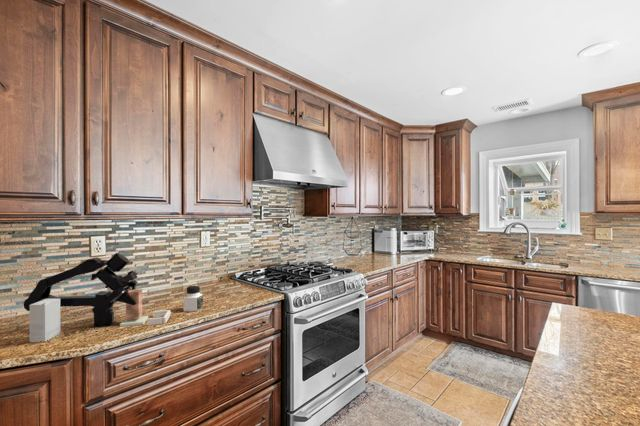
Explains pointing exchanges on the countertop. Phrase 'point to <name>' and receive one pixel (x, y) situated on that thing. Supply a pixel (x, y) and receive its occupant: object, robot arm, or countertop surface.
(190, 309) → the medicine bottle
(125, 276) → the robot arm
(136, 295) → the pink rectangular block
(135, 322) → the lid board
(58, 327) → the skincare box
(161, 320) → the toolbox compartment
